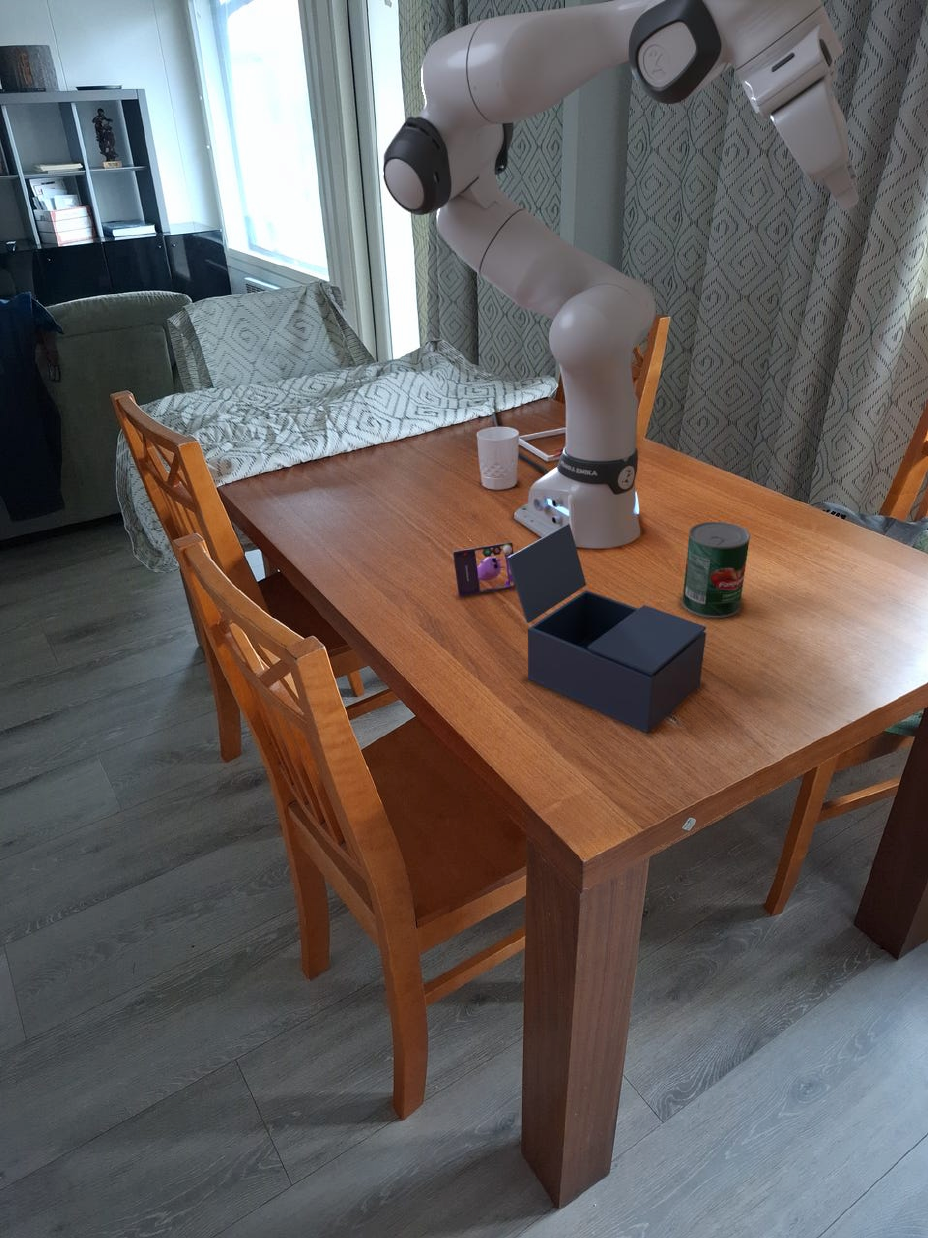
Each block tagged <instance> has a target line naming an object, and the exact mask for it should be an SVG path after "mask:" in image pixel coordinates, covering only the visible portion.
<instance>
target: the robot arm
mask: <svg viewBox="0 0 928 1238" xmlns="http://www.w3.org/2000/svg"><path fill="white" fill-rule="evenodd" d="M843 53H844V49H843V47H842V44H841V41H840V40H839V38H838V35H837V33H836V30H835V29H834V26H833V24H832V22H831V19H830V17H829V15H828V12H827V10H826V7H825V6H824V4H823V1H822V0H606V1H605V0H604V1H602V2H597V3H592V4H590V3H589V4H582V5H575V6H567V7H561V8H554V9H547V10H537V11H536V10H535V11H528V12H527V11H526V12H520V13H513V14H505V15H499V16H494V17H489V18H486V19H485V18H484V19H481V20H479V21H475V22H472V23H470V24H466V25H464V26H462V27H459V28H457V29H455V30H453V31H451V32H449V33H447V34H446V35H443V36H442V37H440V38H439V39H437V40H436V41H435V42H434V43H432V45H431V46H430V47H429V49H428V50H427V51H426V54H425V56H424V58H423V62H422V65H421V73H420V74H421V76H420V77H421V87H422V92H423V95H424V99H425V100H424V107H423V108H422V110H421V111H420V113H419V114H417V115H416V116H415V117H414V116H408V117H407V118H406V119H405V120H404V122H403V124H402V126H401V127H400V129H399V130H398V131H397V132H396V134H395V135H394V137H393V138H392V139H391V141H390V142H389V144H388V146H387V147H386V149H385V151H384V153H383V156H382V159H381V172H382V177H383V181H384V185H385V187H386V189H387V191H388V193H389V194H390V196H391V197H392V199H393V200H394V201H395V202H396V204H397V205H398V206H400V207H401V208H402V209H403V210H405V211H406V212H408V213H410V214H413V215H416V216H425V215H428V214H431V213H434V212H436V211H437V213H436V227H437V230H438V232H439V234H440V236H441V238H442V239H443V240H444V241H445V243H446V244H447V246H449V247H450V248H451V249H452V250H453V252H455V253H456V255H457V256H458V257H459V258H460V259H461V260H462V261H463V262H465V263H466V265H467V266H469V267H470V268H471V269H472V270H473V271H474V272H476V273H477V275H479V276H481V278H483V279H484V280H486V281H487V282H488V283H489V284H491V285H492V286H493V287H495V288H496V289H497V290H498V291H499V292H501V293H502V294H503V295H504V296H506V297H507V298H508V299H510V300H511V301H512V302H513V303H515V304H516V305H517V306H518V307H520V308H522V309H524V310H526V311H529V312H534V313H537V314H539V315H541V316H544V317H546V318H548V319H550V320H552V323H551V325H550V328H549V333H548V344H549V349H550V352H551V354H552V356H553V358H554V360H555V361H556V362H557V363H558V366H559V371H560V375H561V382H562V387H563V393H564V399H565V401H564V402H565V428H566V433H565V445H564V446H563V447H561V448H559V449H555V450H553V451H552V452H553V453H555V454H553V455H554V456H553V457H557V456H560V455H561V457H560V459H558V462H557V465H556V467H555V468H553V469H552V470H550V471H549V470H548V469H547V468H546V467H544V466H542V465H541V464H539V463H538V462H536V461H534V460H532V459H531V458H529V457H528V456H526V455H525V454H523V453H522V452H520V451H519V450H518V457H519V458H521V459H522V460H524V461H525V462H527V463H528V464H529V465H531V466H533V467H535V468H537V469H538V470H540V471H541V472H542V473H543V474H544V475H543V476H541V477H540V478H538V479H536V480H535V482H533V483H532V484H531V486H530V489H529V491H528V497H527V503H525V504H523V505H521V506H520V507H518V508H517V509H516V511H515V512H514V515H513V518H514V520H516V521H517V522H518V523H520V524H522V525H523V526H524V527H526V528H527V529H529V530H531V531H532V532H533V533H534V534H535V535H537V536H538V537H540V538H543V537H545V536H547V535H548V534H550V533H552V532H554V531H555V530H557V529H559V528H561V527H563V526H564V525H566V524H570V527H571V531H572V534H573V538H574V541H575V545H576V548H583V549H597V550H598V549H611V548H612V549H613V548H617V547H622V546H625V545H628V544H630V543H632V542H634V541H635V540H637V539H638V538H639V537H640V535H641V531H642V530H641V526H640V523H639V513H640V507H639V499H638V494H637V491H636V478H637V474H638V464H639V463H638V462H639V450H638V448H637V433H638V431H637V430H638V415H639V399H638V397H637V395H636V392H635V388H634V380H633V372H632V357H633V352H634V349H635V348H636V347H638V346H639V345H640V344H642V343H643V341H644V340H646V338H647V337H648V335H649V333H650V331H651V329H652V327H653V324H654V321H655V317H656V312H657V306H656V300H655V297H654V294H653V292H652V291H651V289H650V288H649V286H647V285H646V284H645V283H644V282H643V281H641V280H639V279H637V278H634V277H631V276H628V275H626V274H624V273H623V272H621V271H619V270H618V269H617V268H615V267H613V266H611V265H609V264H608V263H607V262H604V261H603V260H601V259H599V258H597V257H595V256H593V255H591V254H590V253H588V252H586V251H584V250H582V249H580V248H578V247H577V246H575V245H573V244H572V243H570V242H569V241H567V240H565V239H564V238H563V237H561V235H559V234H558V233H557V232H555V231H554V230H552V229H551V228H550V227H548V226H547V225H546V224H544V223H543V222H542V221H541V220H539V219H538V218H537V217H535V216H534V215H533V214H532V213H530V212H529V211H528V210H526V209H525V208H524V207H523V206H521V204H519V203H517V202H516V201H515V200H513V199H511V198H510V197H509V196H507V194H506V193H504V192H503V190H501V188H500V186H499V184H498V181H497V178H496V176H498V175H500V174H503V173H504V172H505V171H506V170H507V167H508V164H509V150H510V147H511V144H512V140H513V137H514V127H515V125H514V124H515V123H517V122H521V121H524V120H527V119H529V118H532V117H535V116H537V115H539V114H542V113H544V112H546V111H548V110H550V109H551V108H553V107H554V106H556V105H557V104H559V103H560V102H561V101H563V100H564V99H565V98H567V97H568V96H570V95H571V94H573V93H574V92H575V91H576V90H578V89H579V88H580V87H583V86H584V85H586V83H588V82H589V81H590V80H593V78H595V77H598V75H600V74H602V73H603V72H605V71H607V70H609V69H610V68H613V67H616V66H618V65H620V64H623V63H625V62H628V63H629V66H630V70H631V73H632V76H633V78H634V79H635V82H636V84H637V86H639V88H640V89H641V90H642V91H643V93H644V94H645V95H646V96H648V97H649V98H650V99H652V100H654V101H655V102H657V103H659V104H664V105H673V104H674V105H675V104H678V103H681V102H683V101H685V100H688V99H691V98H692V97H693V96H695V95H696V94H698V93H699V92H700V91H702V90H703V89H705V88H706V87H707V86H708V85H710V83H712V82H713V81H715V80H716V79H717V78H718V77H720V76H721V75H722V74H723V73H725V72H726V71H727V70H728V69H729V68H731V67H732V68H733V70H734V71H735V74H736V76H737V77H738V80H739V82H740V84H741V86H742V88H743V90H744V92H745V94H746V96H747V99H748V100H749V102H750V105H751V106H752V108H753V111H754V113H755V114H756V115H758V114H760V115H761V117H762V118H766V117H768V116H769V115H770V119H771V121H772V123H773V125H774V127H775V128H776V131H777V132H778V133H779V135H780V137H781V138H782V140H783V143H784V144H785V145H786V147H787V149H788V150H789V152H790V154H791V155H792V157H793V158H794V160H795V162H796V163H797V164H798V166H799V168H800V169H801V171H802V172H803V173H804V175H805V176H806V177H807V178H808V179H809V180H810V182H812V183H817V182H819V181H820V180H823V182H824V184H825V186H826V187H827V189H828V191H829V192H830V193H831V194H832V196H833V197H834V200H835V202H836V203H837V205H838V207H839V209H840V211H841V212H847V211H849V210H851V209H852V208H854V207H856V206H857V205H858V204H859V202H860V196H859V194H858V191H857V188H856V187H855V185H856V184H857V182H858V175H857V172H856V170H855V168H854V166H853V164H852V160H851V157H850V154H849V142H848V141H849V139H848V124H847V121H846V118H845V115H844V113H843V111H842V109H841V107H840V104H839V102H838V101H837V98H836V96H835V93H834V91H833V90H832V88H831V86H832V85H833V84H834V83H835V82H836V81H837V79H838V78H839V77H838V74H837V72H836V70H835V67H834V66H833V65H834V64H835V62H836V61H837V59H839V58H840V57H841V56H842V54H843ZM491 413H492V418H493V422H494V427H500V425H499V421H498V417H497V413H496V411H495V412H492V411H491Z"/></svg>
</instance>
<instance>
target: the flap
mask: <svg viewBox="0 0 928 1238" xmlns="http://www.w3.org/2000/svg"><path fill="white" fill-rule="evenodd" d="M507 560H508V563H509V566H510V570H511V573H512V576H513V580H514V581H513V584H514V583H515V586H516V587H515V591H516V593H517V596H518V600H519V602H520V607H521V609H522V612H523V616H524V619H525V622H526V624H530V623H531V622H533V621H534V620H536V619H538V618H539V617H540V616H542V615H543V614H545V613H546V612H548V611H550V610H551V609H552V608H554V607H555V606H557V605H558V604H560V603H562V602H563V601H565V600H566V599H568V598H569V597H571V596H572V595H574V594H576V593H577V592H579V591H580V590H581V589H583V588H584V587H586V586H587V582H586V577H585V575H584V570H583V567H582V563H581V560H580V556H579V553H578V549H577V547H576V545H575V541H574V538H573V534H572V531H571V527H570V524H566V525H564V526H563V527H561V528H559V529H557V530H555V531H554V532H552V533H550V534H548V535H547V536H545V537H543V538H542V537H540V539H538V540H536V541H534V542H532V543H530V544H529V545H527V546H525V547H524V548H522V549H520V550H518V551H517V552H514V554H513V555H511V556H509V557H507Z"/></svg>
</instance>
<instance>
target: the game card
mask: <svg viewBox="0 0 928 1238" xmlns="http://www.w3.org/2000/svg"><path fill="white" fill-rule="evenodd" d="M476 551H482V554H483V556H484V557H485V559H483V560H480V561H479V565H478V564H477V563H478V562H477V556H476V555H477V554H476ZM501 553H502V554H503V555H504V560H505V564H506V565H505V566H506V567H505V566H504V565H501V563H500V561H502V560H503V558H497V556H499V555H501ZM492 554H493V555H494V556H492ZM513 554H515V552H514V545H513V542H504V543H498V544H497V543H496V544H492V545H484V546H480V547H473V548H467V549H459V550H454V551H452V555H453V556H452V557H453V562H454V563H453V564H454V570H455V577H456V584H457V585H456V587H457V594H458V597H460V598H462V597H468V596H473V595H480V594H486V593H490V592H498V591H502V590H508V589H514V588H515V589H516V586H515V583H514V580H513V576H512V573H511V570H510V566H509V563H508V560H507V557H509V556H511V555H513ZM491 556H492V557H491ZM501 569H506V572H507V580H506V581H505V585H504V586H497V587H492V588H487V589H481V587H480V585H481V584H480V581H485V582H486V581H492V580H494V579H496V578H497V577H498V576H499V575H500V574H502V572H501ZM511 582H513V584H511Z"/></svg>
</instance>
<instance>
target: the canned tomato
mask: <svg viewBox="0 0 928 1238" xmlns="http://www.w3.org/2000/svg"><path fill="white" fill-rule="evenodd" d="M750 539H751V534H750V532H749V531H748V530H747V529H745V528H744V527H743V526H739V525H738V524H733V523H730V522H723V521H707V522H701V523H698V524H695V525H693V526H692V527H691V528H690V529H689V531H688V541H687V552H686V563H685V572H684V583H683V591H682V599H681V604H682V606H683V608H684V609H685V610H686V611H688V612H689V613H690V614H693V615H695V616H698V617H702V618H706V619H725V618H729V617H732V616H734V615H736V614H737V613H738V612H739V611H740V609H741V600H742V595H743V594H742V593H743V588H744V581H745V572H746V566H747V560H748V552H749V544H750Z"/></svg>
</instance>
